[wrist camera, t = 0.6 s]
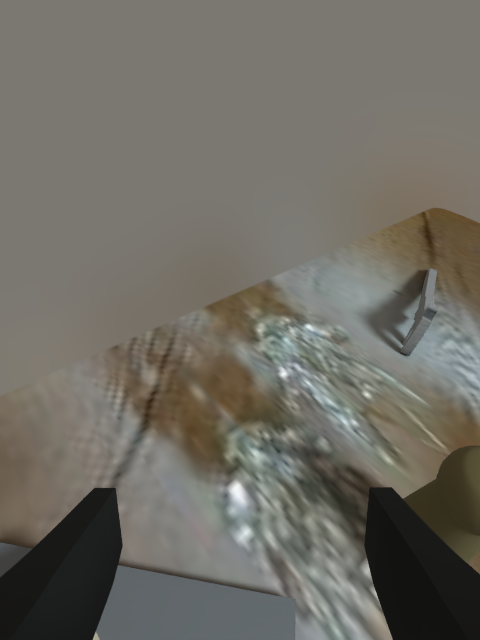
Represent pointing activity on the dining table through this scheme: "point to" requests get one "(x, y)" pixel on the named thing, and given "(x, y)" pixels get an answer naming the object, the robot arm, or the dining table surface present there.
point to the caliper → (422, 314)
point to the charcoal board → (182, 607)
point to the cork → (453, 502)
